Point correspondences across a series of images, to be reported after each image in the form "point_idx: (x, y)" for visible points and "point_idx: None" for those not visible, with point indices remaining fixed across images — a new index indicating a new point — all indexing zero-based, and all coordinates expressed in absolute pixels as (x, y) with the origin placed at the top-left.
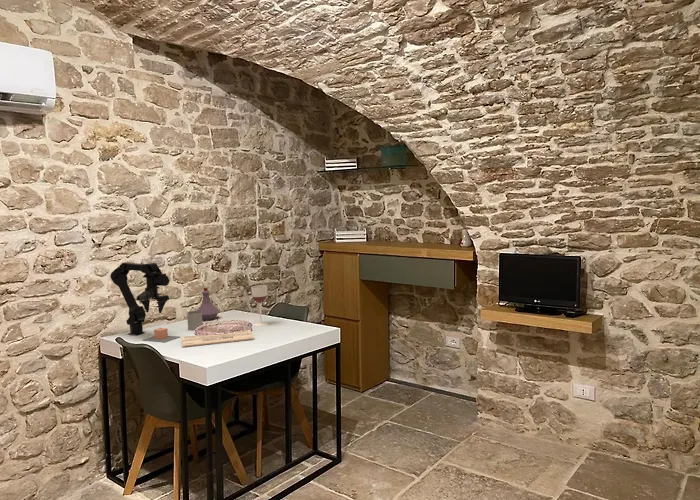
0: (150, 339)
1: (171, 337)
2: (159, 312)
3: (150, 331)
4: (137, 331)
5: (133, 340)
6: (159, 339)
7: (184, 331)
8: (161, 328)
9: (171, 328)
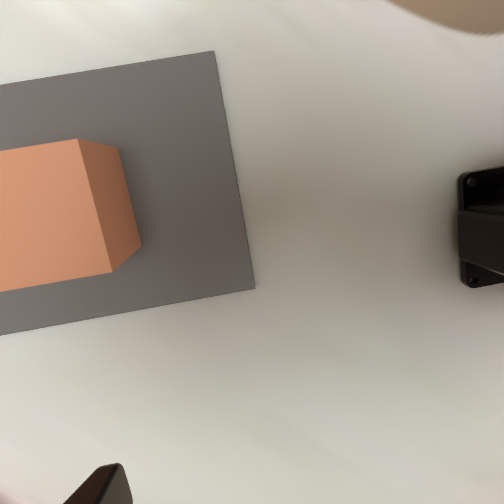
0: (138, 108)
1: None
2: (89, 481)
3: (453, 346)
4: (492, 202)
5: (307, 3)
6: None
7: (145, 489)
8: (65, 256)
9: (356, 498)
